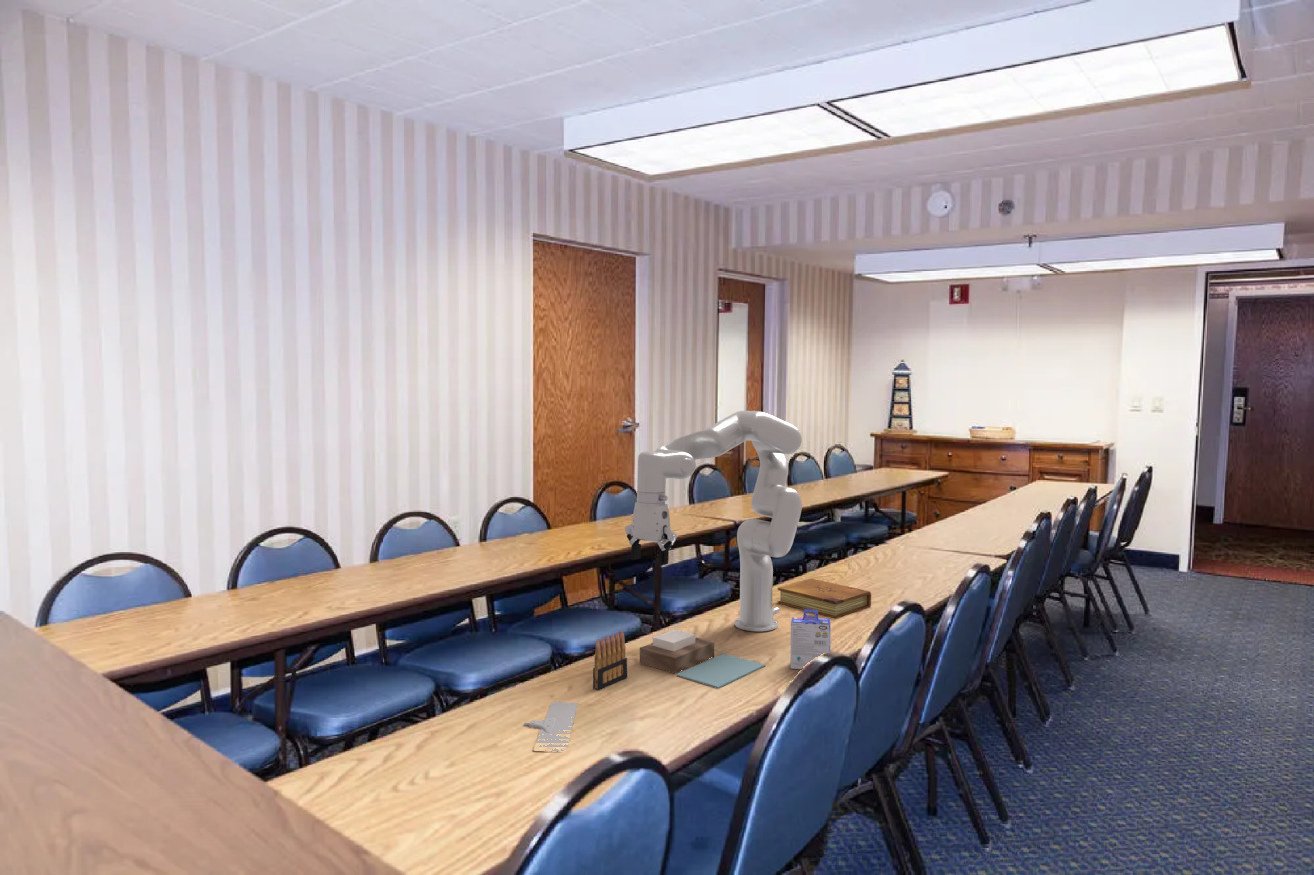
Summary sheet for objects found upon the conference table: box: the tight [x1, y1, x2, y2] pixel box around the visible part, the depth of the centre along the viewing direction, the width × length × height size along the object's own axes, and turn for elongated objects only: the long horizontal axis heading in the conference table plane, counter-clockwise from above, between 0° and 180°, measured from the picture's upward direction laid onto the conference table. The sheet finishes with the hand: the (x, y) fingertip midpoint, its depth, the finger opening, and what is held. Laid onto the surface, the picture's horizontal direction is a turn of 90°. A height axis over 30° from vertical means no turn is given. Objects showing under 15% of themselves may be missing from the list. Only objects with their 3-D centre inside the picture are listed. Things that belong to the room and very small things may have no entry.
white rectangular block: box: [652, 628, 696, 651], centre depth 218 cm, size 9×7×2 cm
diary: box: [777, 578, 872, 619], centre depth 270 cm, size 23×19×6 cm
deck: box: [639, 636, 715, 674], centre depth 218 cm, size 16×12×4 cm
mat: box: [675, 653, 766, 689], centre depth 210 cm, size 20×13×1 cm, turn 139°
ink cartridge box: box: [789, 609, 832, 670], centre depth 212 cm, size 10×6×14 cm, turn 78°
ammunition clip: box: [592, 629, 628, 691], centre depth 201 cm, size 11×2×12 cm, turn 142°
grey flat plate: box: [523, 701, 578, 751], centre depth 178 cm, size 25×24×1 cm
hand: (649, 561), depth 223 cm, fingers open, 9 cm apart
